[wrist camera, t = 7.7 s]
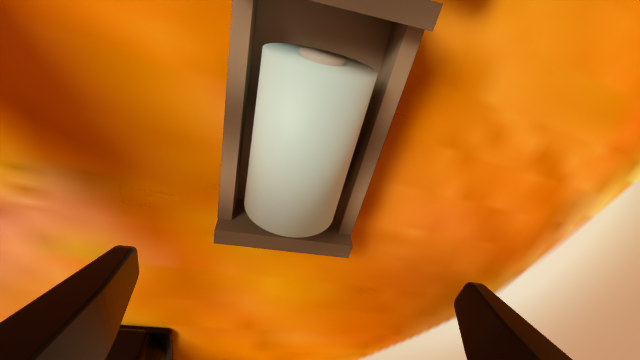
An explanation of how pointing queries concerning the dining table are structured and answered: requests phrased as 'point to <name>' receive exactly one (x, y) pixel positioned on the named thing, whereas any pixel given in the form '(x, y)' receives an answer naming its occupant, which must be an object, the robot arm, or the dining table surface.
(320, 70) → the roll
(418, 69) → the dining table surface
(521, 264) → the dining table surface
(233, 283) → the dining table surface
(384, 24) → the tray
